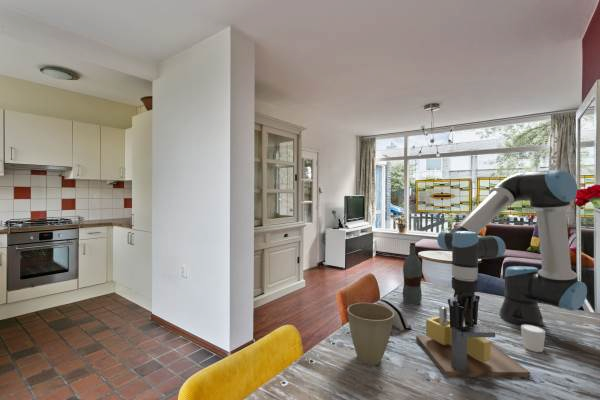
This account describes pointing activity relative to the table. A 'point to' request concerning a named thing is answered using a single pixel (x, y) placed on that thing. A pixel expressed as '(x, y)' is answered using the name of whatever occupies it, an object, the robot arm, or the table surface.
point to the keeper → (465, 343)
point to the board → (472, 361)
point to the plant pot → (370, 330)
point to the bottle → (412, 278)
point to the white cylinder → (533, 337)
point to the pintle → (443, 315)
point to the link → (443, 335)
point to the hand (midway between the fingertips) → (463, 347)
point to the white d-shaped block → (395, 314)
